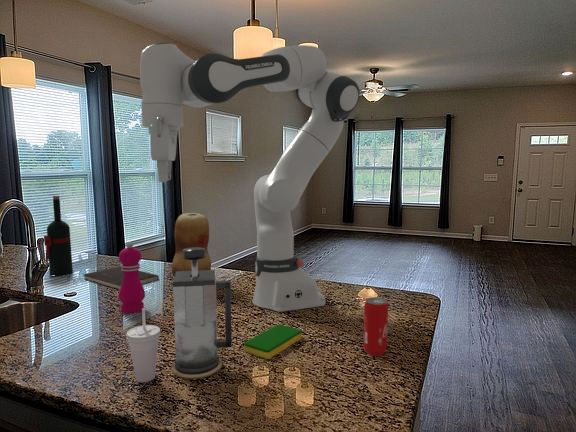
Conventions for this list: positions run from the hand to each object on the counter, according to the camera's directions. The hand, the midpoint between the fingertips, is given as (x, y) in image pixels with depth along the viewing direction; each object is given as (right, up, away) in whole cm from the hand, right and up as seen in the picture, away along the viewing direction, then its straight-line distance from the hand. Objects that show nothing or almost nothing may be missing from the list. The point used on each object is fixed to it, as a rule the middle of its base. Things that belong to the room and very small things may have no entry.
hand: (165, 181), depth 95 cm
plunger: (+9, -29, -9) cm, 32 cm away
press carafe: (+9, -40, -8) cm, 41 cm away
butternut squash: (-6, -32, +53) cm, 62 cm away
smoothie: (0, -40, -12) cm, 42 cm away
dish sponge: (+25, -39, +3) cm, 46 cm away
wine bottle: (-60, -31, +64) cm, 93 cm away
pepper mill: (-17, -36, +26) cm, 47 cm away
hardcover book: (-33, -32, +58) cm, 74 cm away
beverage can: (+48, -39, 0) cm, 62 cm away
